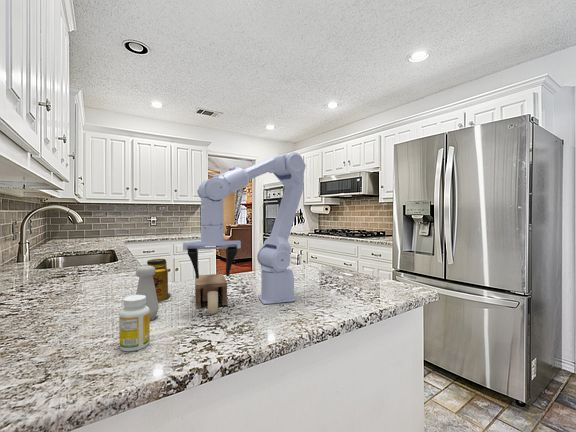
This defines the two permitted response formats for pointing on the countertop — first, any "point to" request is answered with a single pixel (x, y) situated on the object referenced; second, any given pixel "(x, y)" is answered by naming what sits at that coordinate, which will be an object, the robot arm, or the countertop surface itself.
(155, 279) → the condiment
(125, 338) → the supplement bottle
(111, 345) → the countertop surface
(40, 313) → the countertop surface
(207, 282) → the panel
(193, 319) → the countertop surface
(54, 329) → the countertop surface
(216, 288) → the cord block
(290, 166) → the robot arm
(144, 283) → the salt shaker
